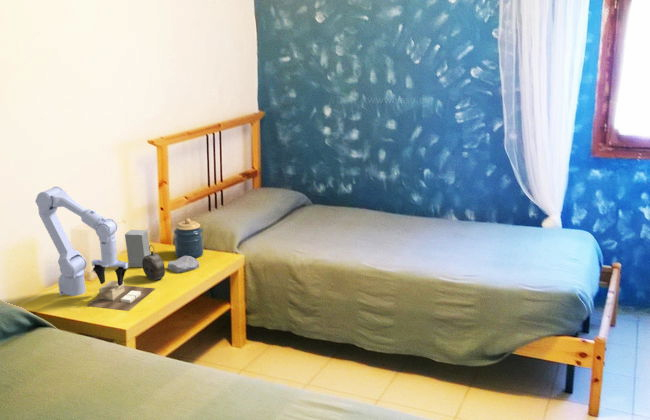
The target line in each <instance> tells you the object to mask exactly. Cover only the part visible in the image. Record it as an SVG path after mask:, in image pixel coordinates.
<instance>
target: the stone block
mask: <svg viewBox="0 0 650 420" xmlns="http://www.w3.org/2000/svg"><path fill="white" fill-rule="evenodd" d="M199 268H200V262H199V260H198V259H197V258H193V257H191V256H183V257H181V258H177V259H176V260H173V261H172V260H170V261H168V264H167V269H168V271H172V272H175V273H176V274H181V273H185V272H190V271H193V270H197V269H199Z"/></svg>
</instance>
